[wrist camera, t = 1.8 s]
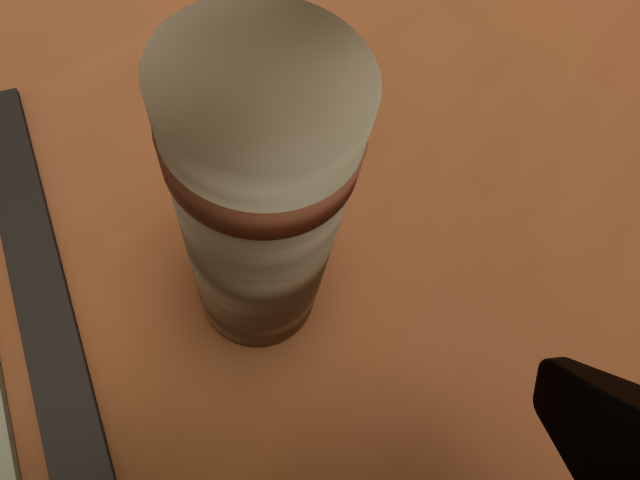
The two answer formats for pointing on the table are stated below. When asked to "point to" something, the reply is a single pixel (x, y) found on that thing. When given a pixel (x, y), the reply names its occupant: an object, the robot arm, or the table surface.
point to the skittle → (259, 150)
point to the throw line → (46, 312)
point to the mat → (7, 440)
